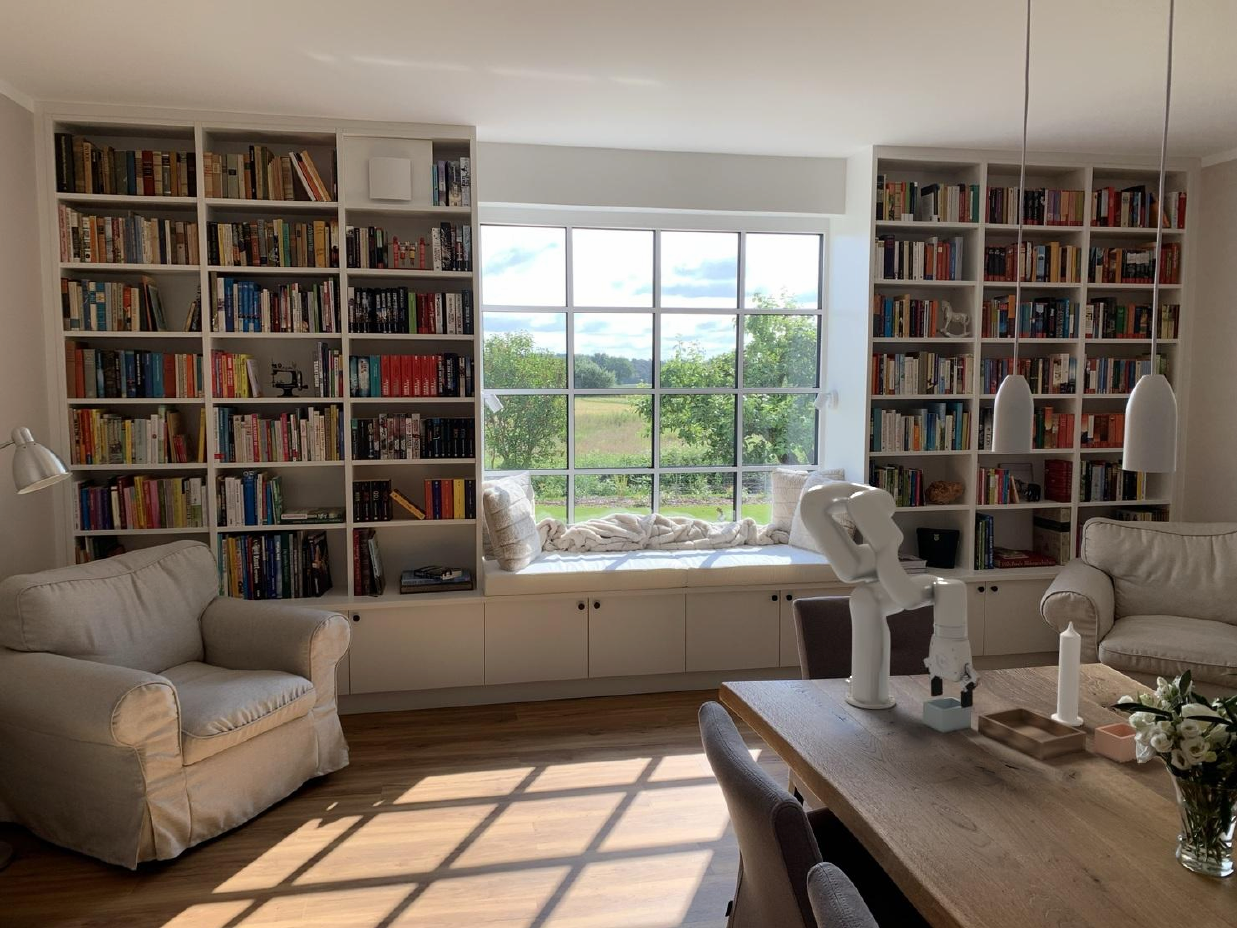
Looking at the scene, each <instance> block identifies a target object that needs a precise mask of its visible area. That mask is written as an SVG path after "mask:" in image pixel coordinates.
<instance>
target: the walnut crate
mask: <svg viewBox="0 0 1237 928" xmlns="http://www.w3.org/2000/svg"><path fill="white" fill-rule="evenodd" d="M977 716H978V717H977V718H978V721H977V722H978V724H977V733H978V732H979V734H980V733H981V734H983V735H985V736H987V737H989V738H991V739H993V740H994V741H995V740H996V741H998V742H1000V743H1002V744H1004V745H1007V746H1009V747H1010V748H1011V747H1012V749H1013V748H1014V749H1015V750H1018V751H1019V752H1022V753H1024V754H1027V755H1028V756H1031V757H1033V758H1035V759H1037V760H1040V761H1043V760H1044V761H1045V760H1047V759H1051V758H1055V757H1060V756H1064V755H1069V754H1073V753H1077V751H1078V752H1081V751H1080V750H1082V751H1084V750H1083V749H1086V748H1087V747H1086V746H1087V744H1086V743H1087V732H1086V731H1084V730H1081V729H1079V728H1075V726H1069V725H1066V724H1064V723H1061V722H1059V721H1056V720H1054V719H1051V717H1049V716H1046V715H1043V714H1042V713H1039V712H1036V711H1034V710H1031V709H1028V708H1026V707H1023V706H1018V707H1012V708H1008V709H1003V710H999V711H993V712H988V713H983V714H978V715H977ZM1068 753H1069V754H1068Z"/></svg>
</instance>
